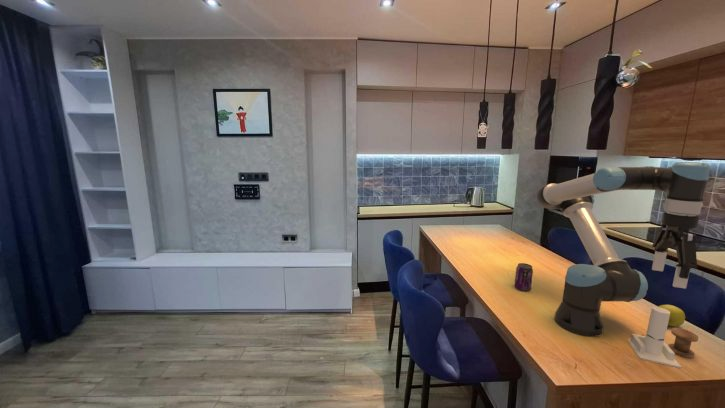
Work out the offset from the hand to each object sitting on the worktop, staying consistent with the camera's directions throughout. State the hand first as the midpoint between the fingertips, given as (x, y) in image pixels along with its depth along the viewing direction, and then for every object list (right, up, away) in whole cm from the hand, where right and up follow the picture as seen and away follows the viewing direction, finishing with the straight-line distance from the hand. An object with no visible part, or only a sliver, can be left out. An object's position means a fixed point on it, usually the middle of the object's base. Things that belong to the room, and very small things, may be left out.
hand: (667, 278), depth 94 cm
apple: (+22, -24, +21) cm, 38 cm away
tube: (0, -26, +5) cm, 26 cm away
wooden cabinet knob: (+10, -26, +5) cm, 29 cm away
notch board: (0, -26, +5) cm, 27 cm away
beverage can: (-19, -18, +50) cm, 56 cm away
